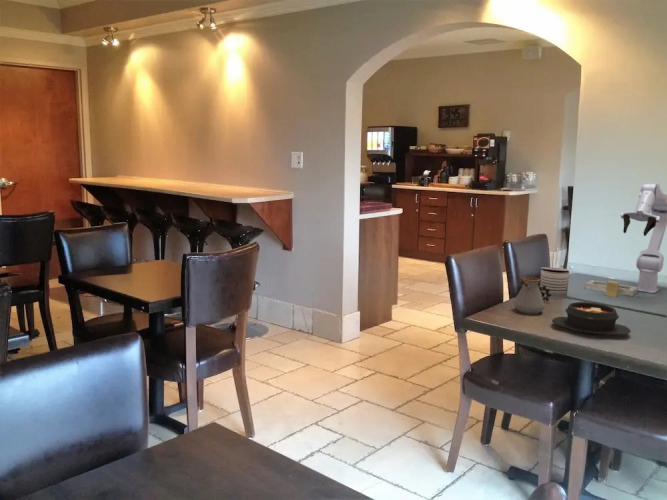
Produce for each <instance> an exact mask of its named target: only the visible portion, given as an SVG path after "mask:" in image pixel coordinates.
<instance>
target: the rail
mask: <svg viewBox="0 0 667 500" xmlns="http://www.w3.org/2000/svg"><path fill="white" fill-rule="evenodd" d="M607 282H608V281H607ZM607 282H606V281H600V280H593V279H591V280H589V281H586V282H585V283H584V289H586V290H591V291H597V292H605V293H606V286H607ZM638 292H639V291H638V286H633V285H632V286H631V285H625V284H620V283H619V290H618V295H622V296H629V297H634V296H635V295H637V294H638Z"/></svg>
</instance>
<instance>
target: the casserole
mask: <svg viewBox="0 0 667 500" xmlns="http://www.w3.org/2000/svg"><path fill="white" fill-rule="evenodd" d="M565 313H566V314H567V316H557V317H555V318H553V319H551V320H552V321H551V322H552V323H553V324H554V325H556V326H558V327H562V328H567V329H570V330H573V331H575V332H578V333H580V334H585V335H588V336H590V335H591V336H605V335H606V336H607V335H615V336H616V335H617V336H625V335H629V334H630V333H631V329H630V328H629V327H628V326H626V325H622V324H619V323H616V322H617V320H618V319H619V318H620V316H619V315H618V312H617V310H616V309H615V308H614V307H612V306H609V305H606V304H601V303H596V302H588V301H587V302H586V301H581V302H580V301H578V302H577V301H576V302H571V303H569V304H568V306H567V307H566V308H565Z"/></svg>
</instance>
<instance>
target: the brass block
mask: <svg viewBox="0 0 667 500" xmlns="http://www.w3.org/2000/svg"><path fill="white" fill-rule="evenodd" d="M619 284H620V282H619V281H614V280H608V281H607V286H606V292H605V297H610V298H616V297H618V296H619V294H618V290H619Z"/></svg>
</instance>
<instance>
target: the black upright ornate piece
mask: <svg viewBox="0 0 667 500" xmlns="http://www.w3.org/2000/svg"><path fill="white" fill-rule="evenodd" d="M538 287H539V289H540V292H541V291H542V290H544V291H546V292H541V295H542V298H543V301H544V303H545V301H546V302H549V301H550V298H549V297H551V294H549V292H550V289H547V290H546V286H543V287H542V288H543V289H542V288H541V287H540V286H538ZM546 294H547V297H545V295H546Z"/></svg>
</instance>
